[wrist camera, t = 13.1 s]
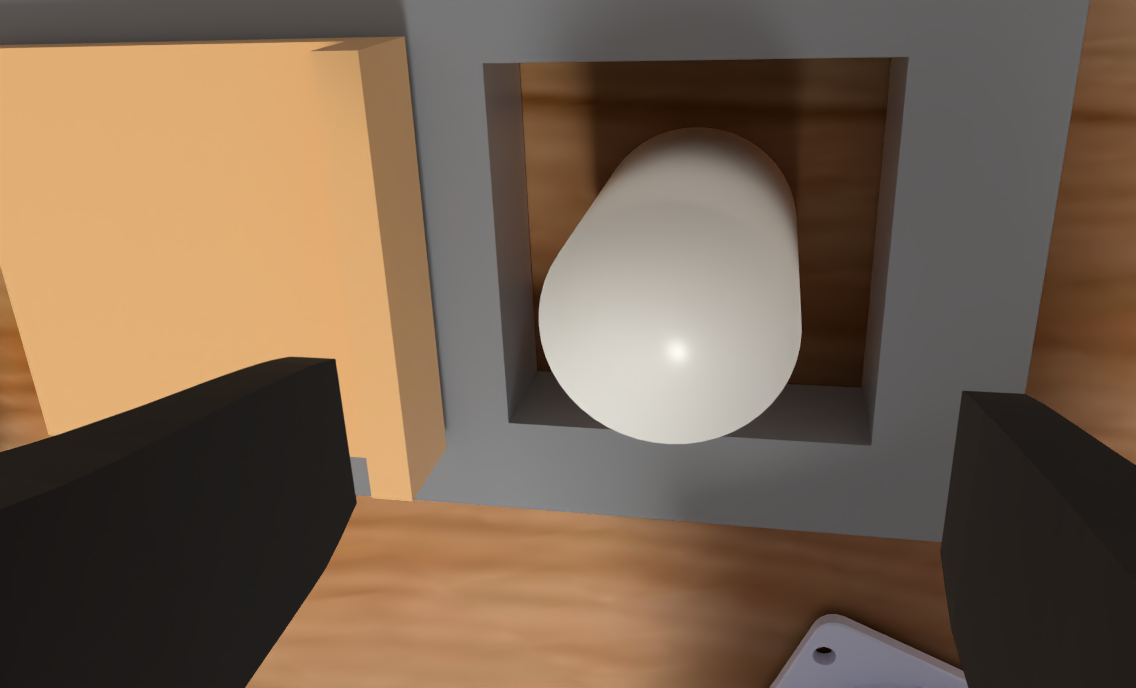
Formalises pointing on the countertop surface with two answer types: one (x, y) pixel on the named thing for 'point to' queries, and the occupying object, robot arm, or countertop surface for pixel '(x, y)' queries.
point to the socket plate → (800, 412)
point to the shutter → (221, 229)
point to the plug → (678, 291)
